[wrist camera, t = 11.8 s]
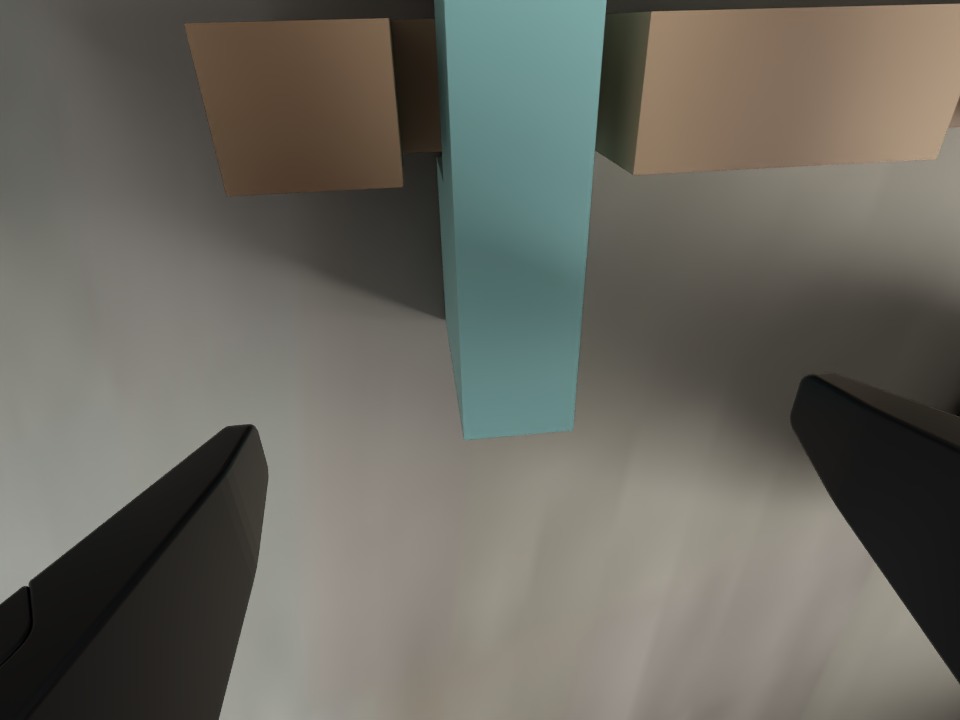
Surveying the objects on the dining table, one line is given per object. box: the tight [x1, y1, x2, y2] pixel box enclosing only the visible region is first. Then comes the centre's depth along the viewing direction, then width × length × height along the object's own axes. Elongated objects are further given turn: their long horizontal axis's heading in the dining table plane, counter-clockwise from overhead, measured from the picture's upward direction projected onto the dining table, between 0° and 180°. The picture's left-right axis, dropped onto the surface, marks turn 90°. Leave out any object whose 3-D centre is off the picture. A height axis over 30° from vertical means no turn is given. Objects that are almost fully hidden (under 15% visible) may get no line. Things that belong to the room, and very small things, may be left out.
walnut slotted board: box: [184, 4, 960, 196], centre depth 12 cm, size 20×2×6 cm, turn 91°
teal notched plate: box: [434, 0, 607, 440], centre depth 12 cm, size 14×2×6 cm, turn 1°
